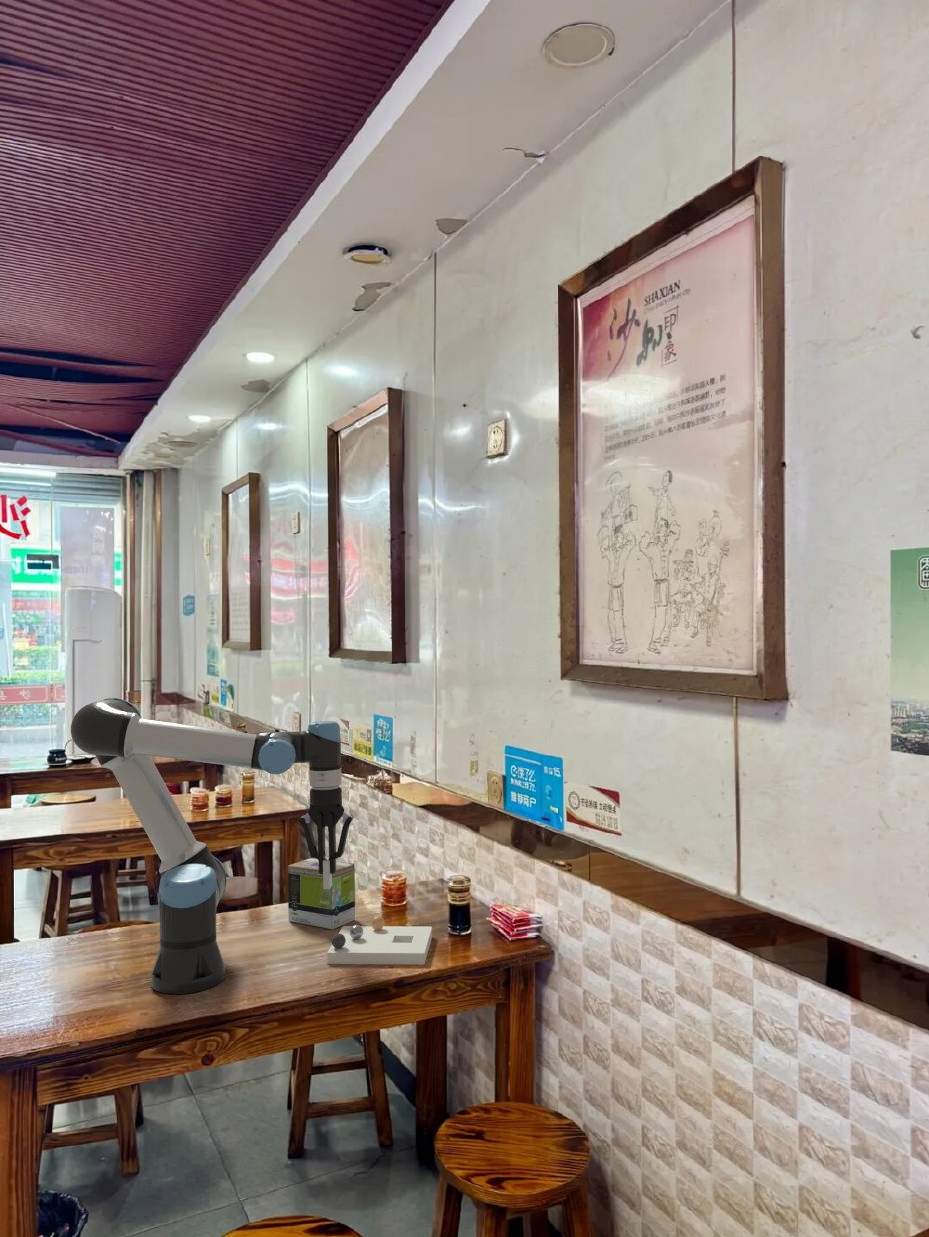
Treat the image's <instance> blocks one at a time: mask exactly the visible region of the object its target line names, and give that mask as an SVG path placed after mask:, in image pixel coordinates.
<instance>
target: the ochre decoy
mask: <svg viewBox="0 0 929 1237" xmlns="http://www.w3.org/2000/svg"><path fill="white" fill-rule="evenodd" d="M384 920H385V919H384V918H383V917H382V916H380V915H379V916H378V915H377V916H373V918H372V919H371V922H370V926H372V928H373V929H375V930H380V929H382V928H383V926H385V921H384Z"/></svg>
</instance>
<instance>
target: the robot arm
mask: <svg viewBox="0 0 929 1237" xmlns="http://www.w3.org/2000/svg"><path fill="white" fill-rule="evenodd" d="M72 718H73V719H72V720H71V725H70V736H71V739H72V742H73V743H74V745H75V746H76V747H78V749H80V750H81V751H82V752H84V753H87V754H89V755H94V756H95V757H96V760H97V762H98V763H99V765H100V766H101V768H105V769H109V770H111V772H112V773H113V775H114V776H115V779H116V780H117V782H118V784H119V786H120V788H121V790H122V791H123V793H124V795H125V797H126V799H127V800H128V802H129V804H130V807H132V810H133V811H134V814H135V815H136V817H137V819H138V821H139V822H140V824H141V826H142V828H143V830H144V831H145V833H146V835H147V836H148V837H147V838H149V841H150V842H151V845H152V846H153V848H154V849H155V851H156V852H155V853H157V855H158V857H159V858H160V860H161V862H160V863H161V864H160V866H159V870H158V871H159V873H160V875H161V878H160V880H159V886H158V898H159V950H158V953H157V956H156V959H155V962H154V964H153V968H152V972H151V976H150V977H151V985H150V986H151V988H152V989H153V990H155V991H156V992H159V993H162V994H168V995H169V994H170V995H183V994H191V993H197V992H200V991H201V992H202V991H205V990H208V989H211V988H213V987H216V986H217V985H218V984H220V983H222V981H224V979H225V977H226V966H225V965H226V964H225V961H224V959H223V955H222V952H221V950H220V947H219V945H218V942H217V907H218V904H219V903H220V900H221V899H222V898H223V897H224V896H223V895H224V894H225V890H226V889H227V888H226V887H227V871H226V869H225V867H224V865H223V863H222V861H220V860H219V859H218V858H217V857H215V855H213V854H212V853H211V850H210V849H209V847H208V845H207V844H206V842H201V841H198V840H197V839H196V837H195V835H194V834H193V832H192V830H191V828H190V826H189V825H188V823H187V821H186V819H185V817H184V816H183V814H182V812H181V810H180V808H179V807H178V805H177V803H176V801H175V799H174V797H173V796H172V793H171V791H170V790H169V788H168V787H167V785H166V782H165V781H164V779H163V777H162V776H161V773H160V772H159V770H158V768H157V766H156V765H155V763H154V761H153V759H152V757H158V758H165V759H166V758H167V759H175V760H184V761H189V762H191V761H192V762H198V763H205V764H206V763H207V764H214V765H215V764H216V765H223V766H229V767H230V766H231V767H237V768H244V769H245V768H246V769H253V770H259V771H264V772H266V773H268V774H270V775H281V774H283V773H287V771H288V770H290V769H291V768H292V766H294V764H305V763H308V765H309V767H308V769H309V770H308V772H309V773H308V775H309V776H308V778H309V787H311V788H310V789H309V808H308V809H307V813H306V814H305V815H302V816H301V817H299V818H298V822H299V824H300V825H301V826H302V828H303V832H304V836H305V840H306V843H307V847H308V850H309V856H310V857H311V858H316V859H318V861H319V873H320V874H323V889H330V888H331V887H332V874H334V873H335V871H336V861H337V859H338V858H341V857H342V856H343V855H344V852H345V848H346V844H347V838H348V833H349V829H350V825H351V823H352V822H353V820H354V819H355V818H354V815H353V814H348V813H347V812H345V808H344V806H343V794H342V793H343V792H342V791H343V790H342V787H341V785H342V782H343V780H342V779H343V778H342V742H341V740H342V738H341V727H340V724H339V723H338V722H337V721H333V720H322V721H321V720H320V721H311V722H309V723H308V726H307V729H306V730H302V731H301V730H300V731H298V730H297V731H296V730H295V731H270V732H269V731H268V732H261V733H258V734H255V733H247V732H241V731H233V730H225V729H219V728H212V727H204V726H203V727H202V726H197V725H188V724H182V723H177V722H176V723H175V722H168V721H160V720H159V721H158V720H153V719H144V718H142V715H141V713H140V711H139V710H138V708H137V707H136V706H135V705H134V704H133V703H131V702H129V701H128V700H125V699H122V698H117V697H108V698H104V699H102V700H97V701H94V702H91V703H88V704H86V705H84V706H82V707H81V708H80V709H79V710H78V711H77V712H76V713H75V715H74V716H73V717H72ZM341 818H342V823H343V824H342V827H341V831H340V837H339V842H338V845H337V841H336V840H337V835H336V833H337V832H336V828H337V824H338V823H339V821H340V820H341ZM311 820H312V821H313V822H314V824H315V825H316V831H317V844H316V840H315V837H314V833H313V829H312V826H311ZM326 827H327V833H328V837H327V838H328V857H326V856H327V854H326Z"/></svg>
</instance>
